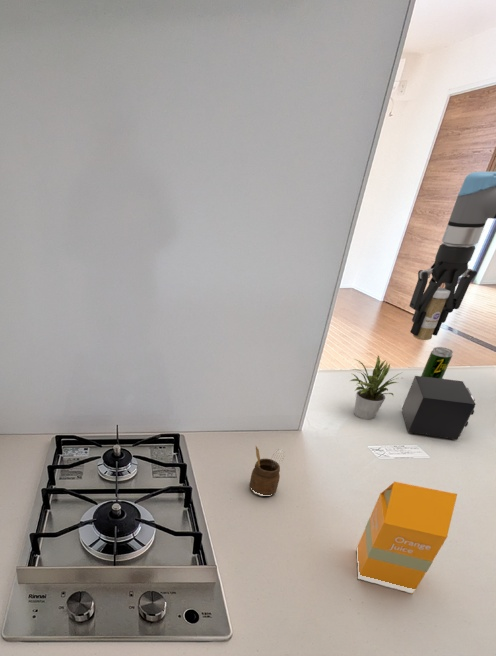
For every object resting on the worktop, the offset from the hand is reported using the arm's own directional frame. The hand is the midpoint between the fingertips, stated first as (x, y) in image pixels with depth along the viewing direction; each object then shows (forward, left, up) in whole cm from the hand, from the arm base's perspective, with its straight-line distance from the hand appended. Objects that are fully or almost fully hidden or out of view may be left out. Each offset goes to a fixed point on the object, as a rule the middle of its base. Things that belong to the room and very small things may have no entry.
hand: (423, 333), depth 123 cm
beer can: (-8, -6, -19) cm, 21 cm away
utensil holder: (+35, +61, -19) cm, 73 cm away
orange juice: (+12, +77, -19) cm, 80 cm away
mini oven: (-4, +19, -18) cm, 27 cm away
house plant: (+12, +17, -19) cm, 28 cm away
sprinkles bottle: (0, 0, -1) cm, 1 cm away
